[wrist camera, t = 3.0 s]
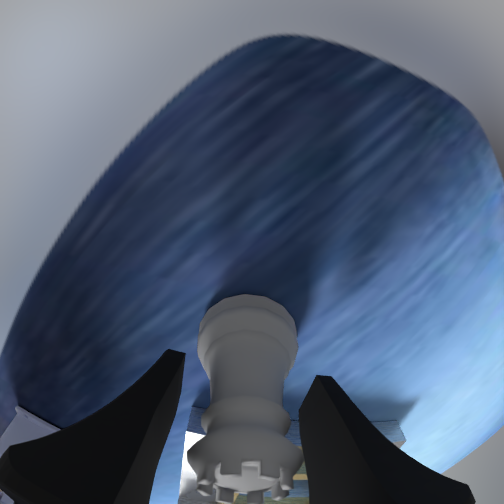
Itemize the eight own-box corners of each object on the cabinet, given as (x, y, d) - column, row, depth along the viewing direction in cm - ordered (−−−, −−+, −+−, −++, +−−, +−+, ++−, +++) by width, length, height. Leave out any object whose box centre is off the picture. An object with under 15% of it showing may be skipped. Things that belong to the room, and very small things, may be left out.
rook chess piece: (243, 268, 12) (232, 427, 4) (315, 327, 13) (364, 477, 5) (181, 333, 13) (130, 479, 5) (251, 381, 14) (251, 521, 6)
